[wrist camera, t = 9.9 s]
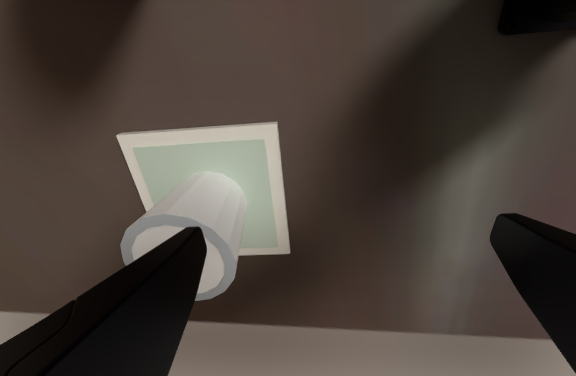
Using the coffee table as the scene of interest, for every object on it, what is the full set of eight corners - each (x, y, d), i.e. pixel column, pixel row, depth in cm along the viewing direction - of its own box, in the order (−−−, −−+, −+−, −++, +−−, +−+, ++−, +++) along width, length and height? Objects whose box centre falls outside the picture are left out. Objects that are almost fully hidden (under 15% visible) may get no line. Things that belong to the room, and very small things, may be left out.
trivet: (277, 121, 19) (276, 124, 19) (290, 249, 25) (290, 255, 24) (121, 132, 20) (114, 136, 19) (167, 253, 26) (163, 259, 25)
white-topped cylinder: (265, 181, 21) (250, 238, 15) (241, 244, 24) (220, 314, 18) (178, 151, 20) (122, 198, 14) (165, 221, 23) (115, 285, 17)
